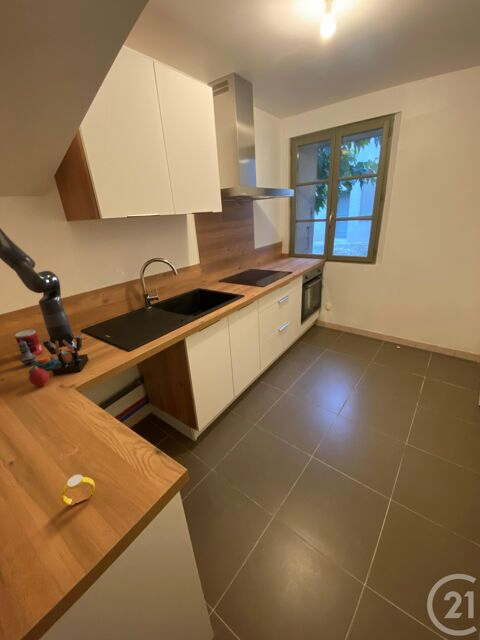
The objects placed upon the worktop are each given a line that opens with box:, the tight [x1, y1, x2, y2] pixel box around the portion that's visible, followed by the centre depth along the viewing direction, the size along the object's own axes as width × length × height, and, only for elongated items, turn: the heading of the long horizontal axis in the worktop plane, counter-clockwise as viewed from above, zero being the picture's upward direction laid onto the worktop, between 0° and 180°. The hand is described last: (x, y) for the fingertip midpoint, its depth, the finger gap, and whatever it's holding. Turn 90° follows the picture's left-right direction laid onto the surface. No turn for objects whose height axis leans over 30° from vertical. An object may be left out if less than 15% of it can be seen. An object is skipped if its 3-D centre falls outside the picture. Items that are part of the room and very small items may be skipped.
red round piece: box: [28, 367, 50, 387], centre depth 97 cm, size 6×6×8 cm
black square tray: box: [51, 353, 89, 377], centre depth 109 cm, size 10×10×3 cm
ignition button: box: [38, 355, 51, 363], centre depth 110 cm, size 4×4×2 cm
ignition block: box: [28, 356, 59, 375], centre depth 111 cm, size 10×8×3 cm
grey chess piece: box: [17, 340, 39, 368], centre depth 112 cm, size 6×6×12 cm
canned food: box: [14, 329, 43, 357], centre depth 122 cm, size 8×8×11 cm
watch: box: [60, 474, 96, 506], centre depth 55 cm, size 6×3×6 cm, turn 117°
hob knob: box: [61, 348, 74, 364], centre depth 108 cm, size 4×4×5 cm
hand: (69, 360), depth 108 cm, fingers closed on hob knob, 4 cm apart
